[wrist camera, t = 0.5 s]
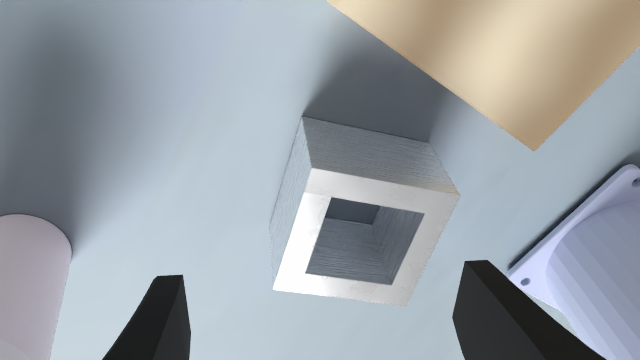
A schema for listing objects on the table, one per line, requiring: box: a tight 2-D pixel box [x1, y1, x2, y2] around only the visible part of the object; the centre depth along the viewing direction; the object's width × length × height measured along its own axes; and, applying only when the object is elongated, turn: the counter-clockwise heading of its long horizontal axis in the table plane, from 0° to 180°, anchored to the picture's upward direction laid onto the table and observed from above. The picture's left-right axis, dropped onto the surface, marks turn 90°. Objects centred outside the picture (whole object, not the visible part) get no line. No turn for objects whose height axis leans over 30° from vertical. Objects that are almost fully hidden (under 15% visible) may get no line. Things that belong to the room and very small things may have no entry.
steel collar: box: [269, 116, 460, 306], centre depth 22 cm, size 6×6×4 cm
